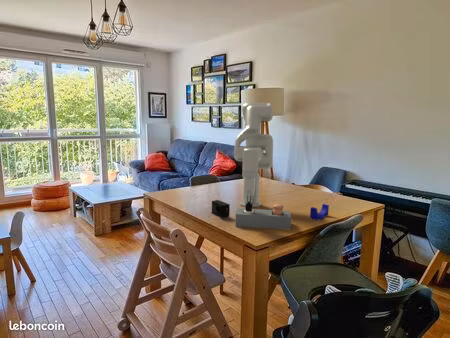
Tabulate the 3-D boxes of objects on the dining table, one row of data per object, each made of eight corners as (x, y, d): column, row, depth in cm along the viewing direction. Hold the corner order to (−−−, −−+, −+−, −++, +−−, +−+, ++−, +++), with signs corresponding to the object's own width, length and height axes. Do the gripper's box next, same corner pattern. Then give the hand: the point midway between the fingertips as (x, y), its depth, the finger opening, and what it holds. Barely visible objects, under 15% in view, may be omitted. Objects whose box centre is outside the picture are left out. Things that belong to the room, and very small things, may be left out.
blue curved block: (317, 220, 156) (318, 209, 155) (309, 218, 160) (310, 207, 159) (330, 216, 164) (331, 205, 163) (323, 214, 167) (324, 204, 166)
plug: (243, 220, 152) (243, 209, 151) (253, 221, 151) (254, 209, 150) (243, 224, 147) (243, 212, 146) (253, 224, 146) (253, 212, 146)
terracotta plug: (272, 215, 150) (272, 203, 149) (282, 215, 149) (283, 204, 148) (272, 218, 145) (273, 206, 144) (283, 219, 144) (283, 207, 143)
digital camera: (209, 213, 164) (209, 201, 163) (217, 212, 167) (218, 199, 166) (220, 218, 156) (221, 205, 154) (229, 217, 159) (229, 204, 158)
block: (236, 219, 155) (237, 208, 154) (288, 222, 152) (289, 210, 151) (235, 226, 145) (235, 214, 144) (290, 229, 142) (291, 217, 141)
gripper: (243, 171, 153) (241, 206, 156) (241, 176, 138) (240, 215, 141) (258, 171, 152) (256, 207, 155) (257, 177, 137) (256, 216, 140)
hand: (248, 210), depth 148 cm, fingers closed
